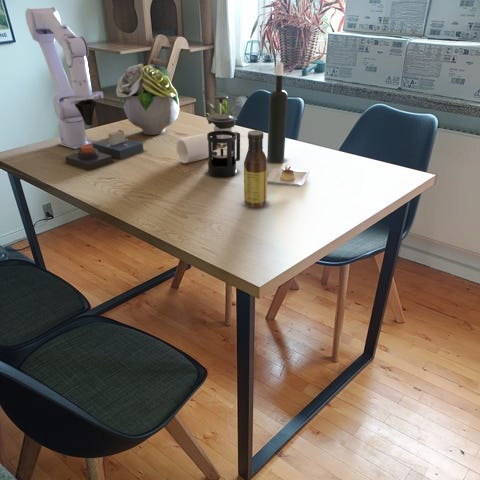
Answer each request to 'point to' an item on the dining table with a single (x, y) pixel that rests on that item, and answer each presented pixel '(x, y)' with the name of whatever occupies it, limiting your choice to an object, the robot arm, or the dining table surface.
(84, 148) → the button
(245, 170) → the sauce bottle
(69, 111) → the robot arm
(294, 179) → the dessert
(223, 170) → the french press
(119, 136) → the grey rectangular block
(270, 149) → the wine bottle
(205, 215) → the dining table surface
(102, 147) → the dial panel
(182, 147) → the mug
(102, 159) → the button base
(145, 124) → the flower arrangement
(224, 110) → the house plant
